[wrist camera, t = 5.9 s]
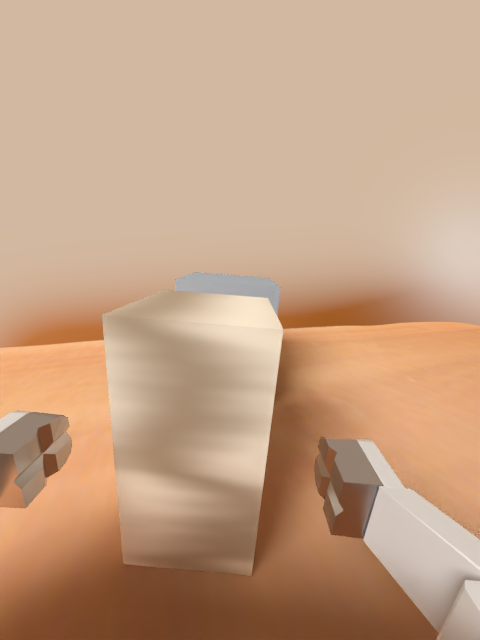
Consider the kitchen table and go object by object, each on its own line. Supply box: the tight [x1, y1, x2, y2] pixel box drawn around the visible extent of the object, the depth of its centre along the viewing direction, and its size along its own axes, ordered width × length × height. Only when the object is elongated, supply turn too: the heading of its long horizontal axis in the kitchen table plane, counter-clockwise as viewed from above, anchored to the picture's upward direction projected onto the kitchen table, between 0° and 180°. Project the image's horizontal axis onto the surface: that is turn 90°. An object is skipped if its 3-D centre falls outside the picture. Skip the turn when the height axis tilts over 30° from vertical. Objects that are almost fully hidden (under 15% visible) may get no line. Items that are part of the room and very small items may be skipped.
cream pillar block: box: [102, 290, 283, 576], centre depth 10 cm, size 5×5×10 cm
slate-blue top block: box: [175, 272, 280, 315], centre depth 22 cm, size 8×8×5 cm
